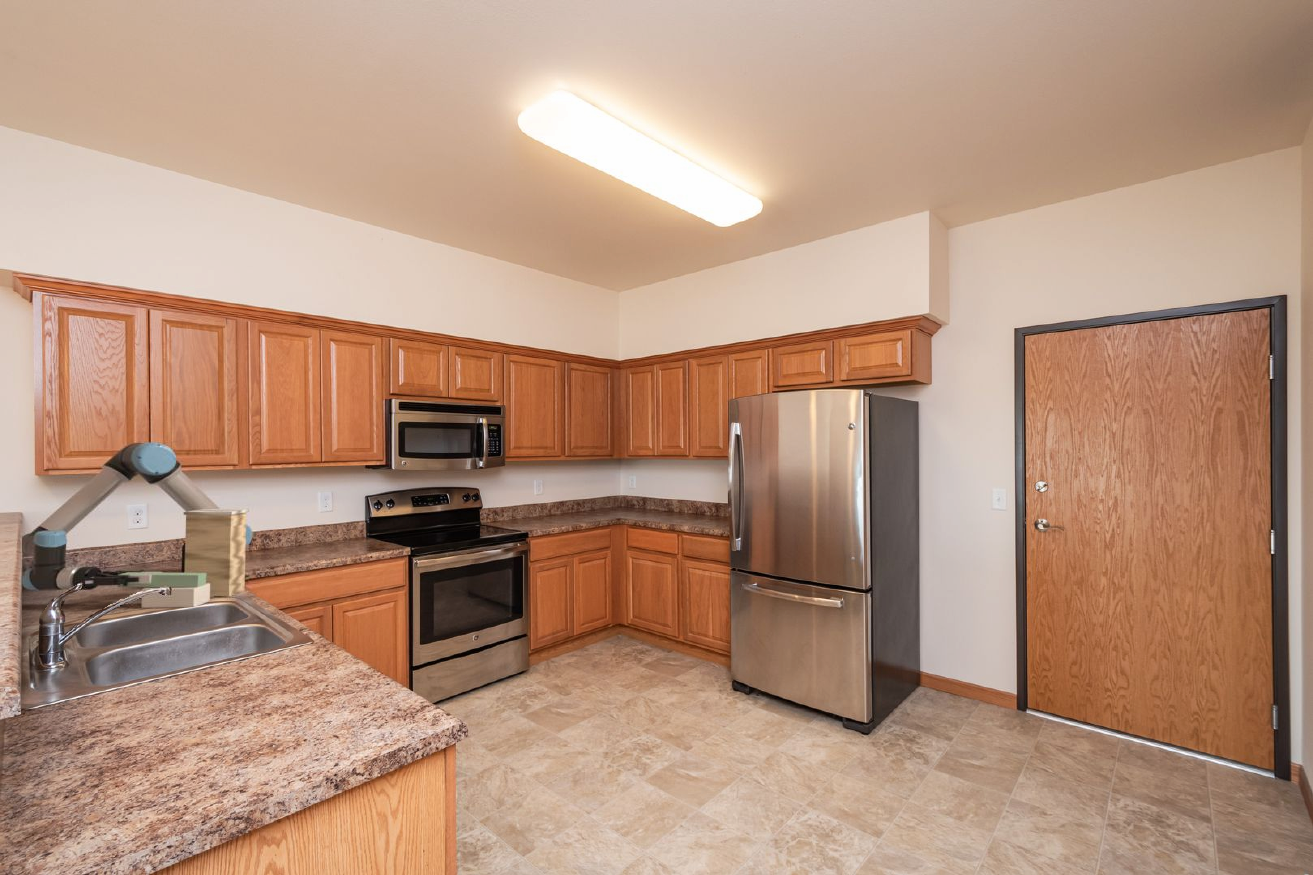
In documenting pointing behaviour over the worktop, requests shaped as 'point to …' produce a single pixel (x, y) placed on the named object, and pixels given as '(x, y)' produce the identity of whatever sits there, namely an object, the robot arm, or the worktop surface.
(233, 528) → the tall wooden pillar block
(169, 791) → the worktop surface
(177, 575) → the pale green rectangular block
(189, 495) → the robot arm
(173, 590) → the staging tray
